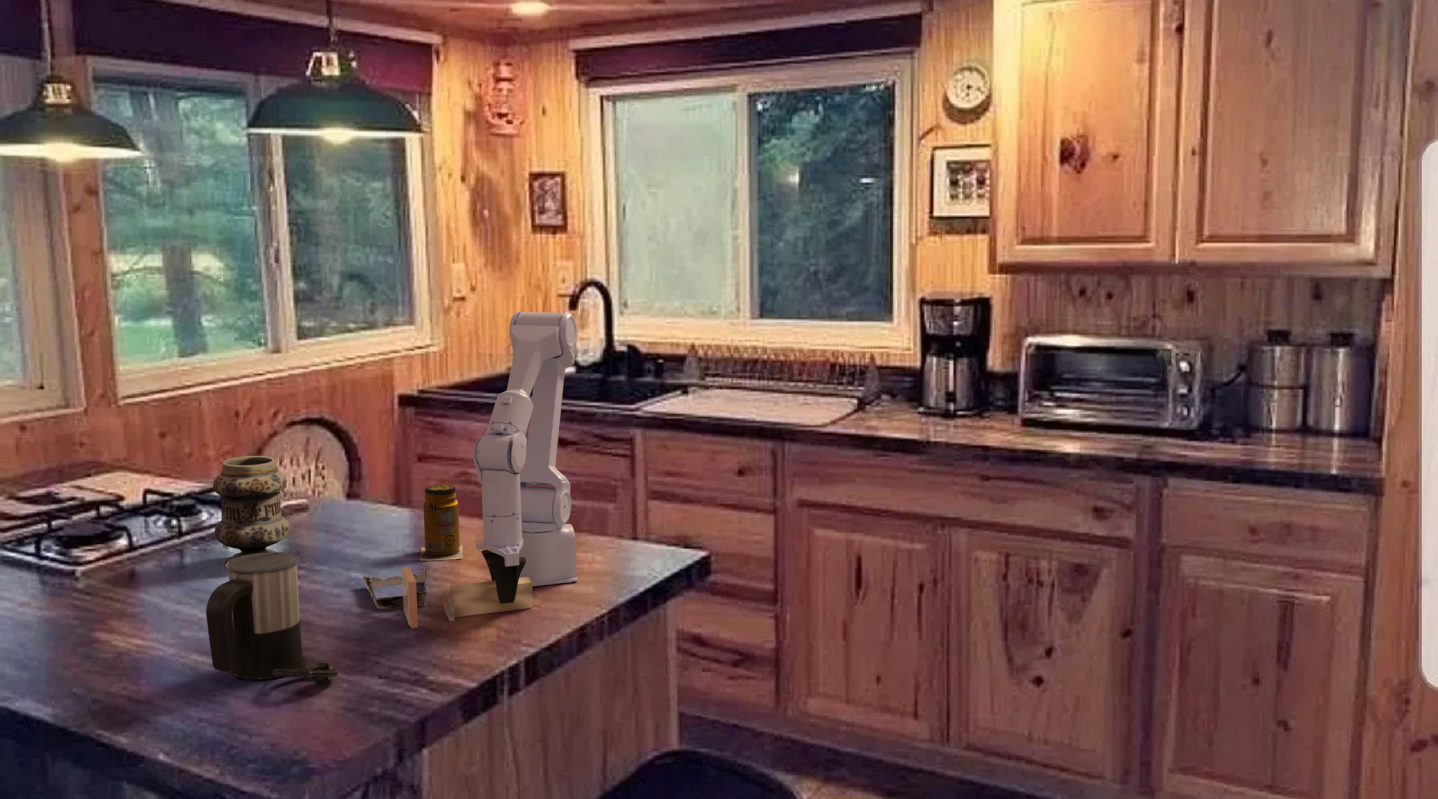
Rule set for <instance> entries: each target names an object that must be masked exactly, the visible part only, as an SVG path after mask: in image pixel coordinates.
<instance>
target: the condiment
mask: <svg viewBox="0 0 1438 799" xmlns="http://www.w3.org/2000/svg"><path fill="white" fill-rule="evenodd" d="M456 489H457V488H456V487H455V486H454V485H453V484H448V483H443V484H442V483H440V484H437V483H436V484H432V485H428V486H427V487H426V488H425V490H424V492H425V496H424V499H425V501H424V503H423V526H424V527H423V529H424V531H423V532H424V547H420V557H419V558H420V559H419V561H426V562H427V561H448V560H458V559H461V560H462V559H464V553H463V552H464V551H463V550H464V549H463V548H464V547H463V546H464V545H463V544H460V520H459V518H460V517H459V515H460V514H459V501H458V500H457V499H456V498H457V495H456Z"/></svg>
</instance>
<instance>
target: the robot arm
mask: <svg viewBox="0 0 1438 799" xmlns="http://www.w3.org/2000/svg"><path fill="white" fill-rule="evenodd" d="M510 318H511V319H510V322H509V325H508V326H509V327H508V331H509V332H508V334H509V335H508V336H509V340H510V344H511V348H512V351H513V358H512V361H511V362H512V363H511V367H510V368H511V369H510V373H509V378H508V383H507V388H506V390H505V391H503V392H501V393H499V394H498V395H497V398H496V400H495V404H494V407H493V410H492V412H491V415H490V416H491V417H490V420H489V422H488V426H487V429H486V432H485V434H483V436H479V437H478V438H477V440H476V442H475V445H474V450H473V456H472V457H473V465H474V468H475V469H476V472H477V481H478V483H479V484H481V499H482V500H481V501H482V506H481V507H482V526H483V529H482V530H483V533H482V535H483V540H478V541H475V547H476V549H478V550H481V552H480V553H481V554H482V556H483V558H484V560H485V562H486V565H487V567H488V570H489V574H490V579H491V581H495V582H496V588H497V594H498V598H499V601H500V603H501V604H504V603H512V602H514V600H515V596H516V591H517V585H518V581H519V578H522V577H529V579H530V580H531V582H532V588H533V587H540V586H545V585H546V586H548V585H559V584H564V583H573V582H578V577H577V546H576V544H577V543H576V535H575V530H574V527H573V525H572V524H571V523H567V522H568V521H569V519H570V515H571V511H572V499H571V483H570V481H569V479H568V478H567V477H566V476H565V475H564V474H563V473H561V472H560V471H559V470H558V469H557V467H556V461H557V451H558V443H559V442H558V441H559V432H560V430H559V429H560V424H561V412H562V411H561V410H562V402H563V391H564V390H563V389H564V381H565V375H566V369H567V368H569V367H571V366H573V365H574V364H575V357H576V354H577V353H576V352H577V342H578V328H577V322H576V319H575V317H574V315H573V314H572V313H571V312H570V311H564V312H542V311H541V312H537V311H536V312H535V311H534V312H532V311H522V310H518V311H516V312H514V314H513V315H512V316H511V317H510ZM531 392H532V396H531V398H530V395H531ZM527 430H528V434H527V437H526V433H527ZM541 486H543V487H541ZM546 486H549V487H546Z"/></svg>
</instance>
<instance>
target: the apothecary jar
mask: <svg viewBox="0 0 1438 799" xmlns="http://www.w3.org/2000/svg"><path fill="white" fill-rule="evenodd" d="M287 482H288V480H287V476H286V475H285V474H284V472H282V471H281V470H280V469H278V466H277V463H276V459H275V458H273V457H271V456H267V455H265V456H264V455H248V456H236V457H232V458H228V459H225V460H224V461H223V462H222V469H221V472H220V473H219V474H218V475H216V477H215V478H214V479H213V482H212V489H213V491H214V493H216V494H217V495H219V496H220V498H221V500H220V502H221V520H220V521H219V522H218V523H217V525H216V526H215V529H214V537H215V539H216V540H217V541H218V543H220V544H222V545H223V546H226V547H229V548H232V549H235V550H240V551H239V552H237V553H235V554H233V555H232V556H230V557H228V558H226V559H225V560H224V561H223V565H224V566H225V565H226V563H227V562H228V561H230V560H232V559H234V558H237V557H241V556H244V555H250V554H255V553H264V552H276V551H275V550H273V549H268V547H271V546H274V545H276V544H278V543H280V542H281V541H282V540H284V539H285V538H286V537H287V535H288V533H289V532H290V529H291V528H290V527H291V526H290V523H289V521H288V520H287V519H286V518H285V517H284V516H282V507H281V492H282V491H283V490H284V488H285V487H286V485H287Z"/></svg>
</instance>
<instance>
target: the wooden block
mask: <svg viewBox="0 0 1438 799" xmlns="http://www.w3.org/2000/svg"><path fill="white" fill-rule="evenodd" d="M442 594H443V595H442V596H443V597H442V598H443V610H444V612H445V614H446V616H447V619H448V622H453V621H456V618H457V617H467V616H474V615H475V616H476V615H483V614H490V613H491V614H492V613H493V614H494V613H499V612H506V611H507V612H509V611H515V610H524V609H533V607H534V606H533V605H534V602H533V600H534V598H533V594H534V593H533V587H532V582H531V580H530V579H529V577H522V578H519V581H518V585H517V591H516V596H515V600H514V602H512V603H504V604H501V603H500V601H499V598H498V594H497V588H496V582H495V581H492V580H488V581H478V582H472V583H470V582H469V583H461V584H454V585H453V584H452V585H449V588H447V589H442Z"/></svg>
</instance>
